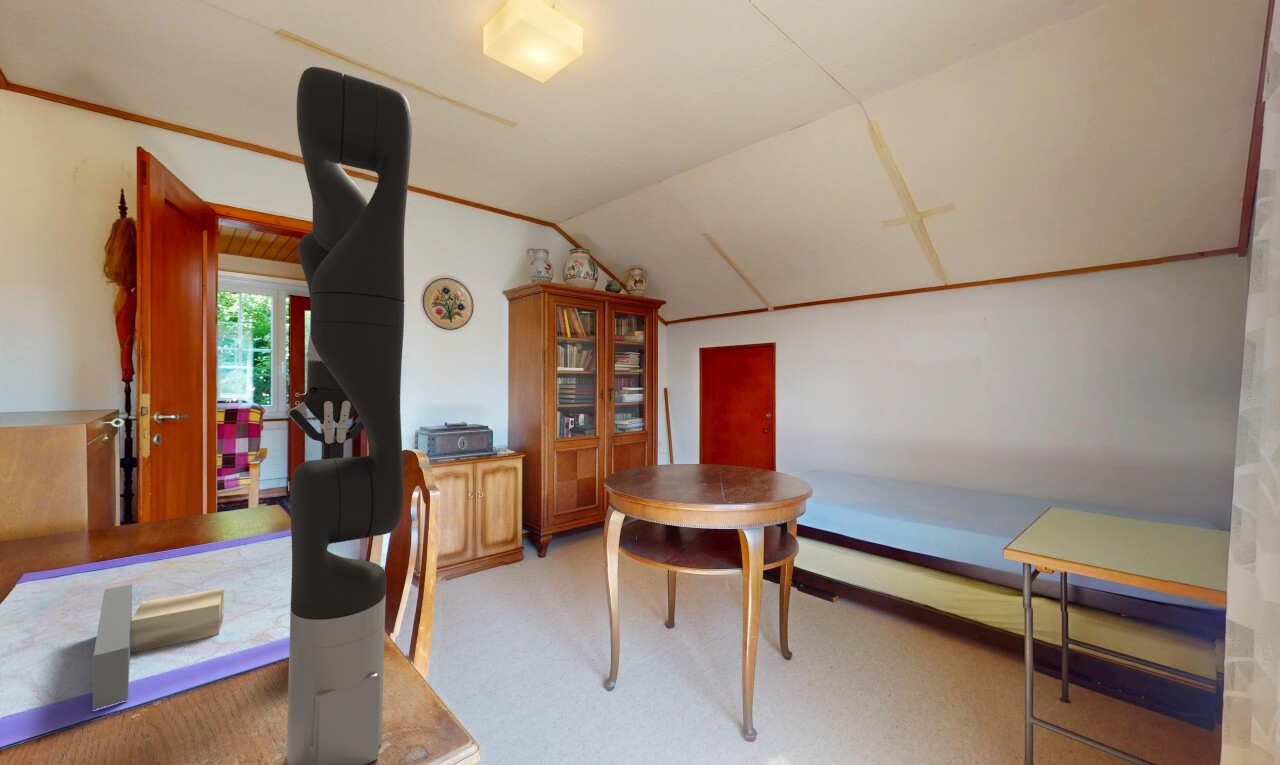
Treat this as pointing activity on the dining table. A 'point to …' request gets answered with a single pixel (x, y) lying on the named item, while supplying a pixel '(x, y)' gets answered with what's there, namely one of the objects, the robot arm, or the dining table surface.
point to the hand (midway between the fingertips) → (332, 465)
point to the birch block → (177, 619)
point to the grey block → (113, 648)
